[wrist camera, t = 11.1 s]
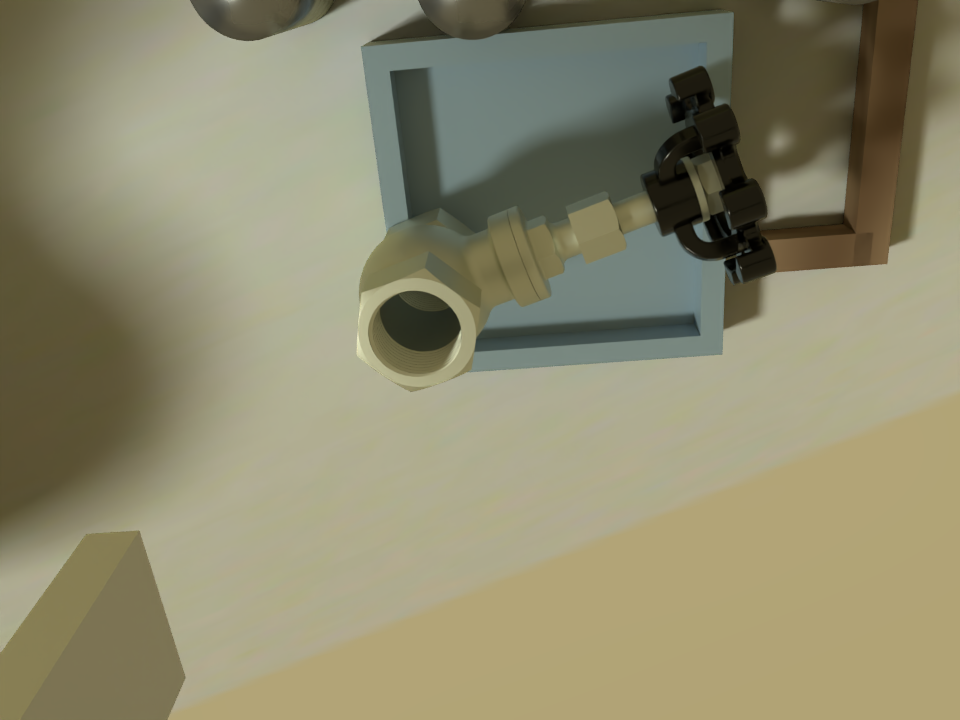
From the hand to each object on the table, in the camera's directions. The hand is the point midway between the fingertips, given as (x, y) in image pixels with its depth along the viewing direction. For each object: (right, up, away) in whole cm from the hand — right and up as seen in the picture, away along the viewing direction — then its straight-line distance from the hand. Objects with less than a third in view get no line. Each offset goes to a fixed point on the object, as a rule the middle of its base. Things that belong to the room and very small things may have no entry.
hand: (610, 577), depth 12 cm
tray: (+1, +9, +19) cm, 21 cm away
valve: (0, +8, +17) cm, 19 cm away
